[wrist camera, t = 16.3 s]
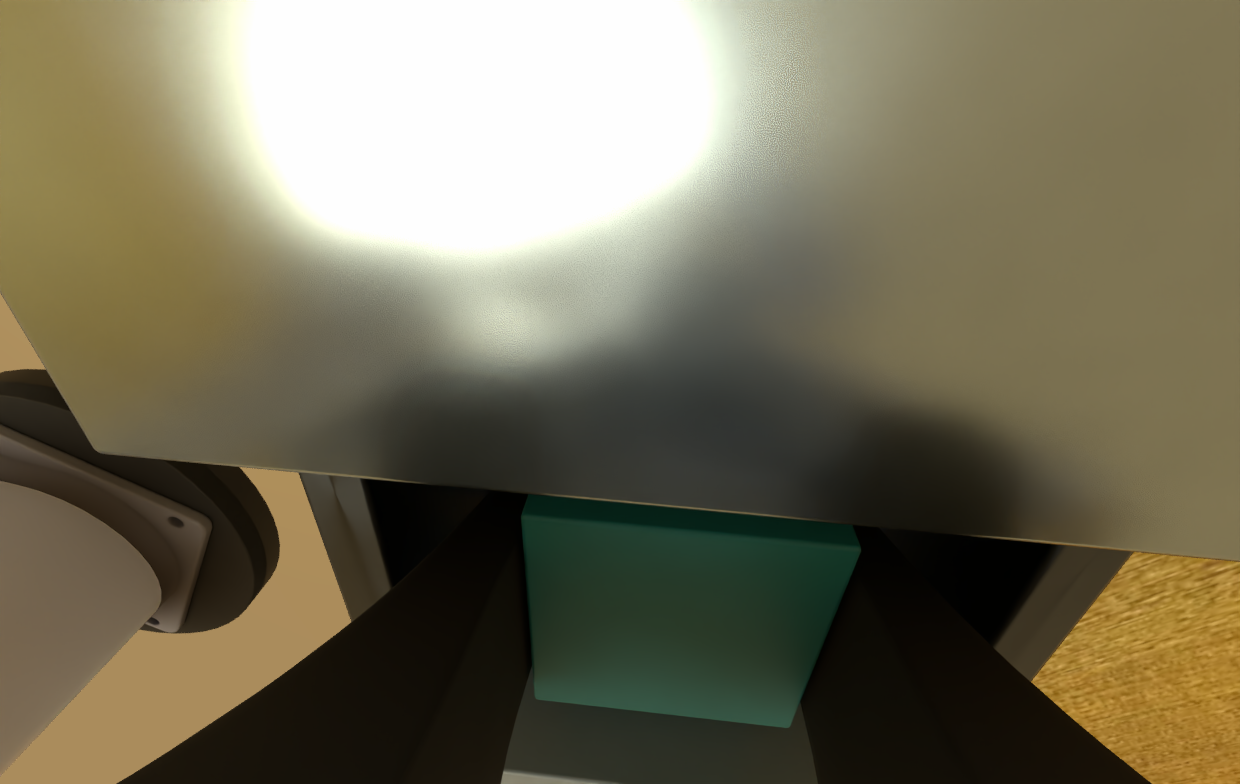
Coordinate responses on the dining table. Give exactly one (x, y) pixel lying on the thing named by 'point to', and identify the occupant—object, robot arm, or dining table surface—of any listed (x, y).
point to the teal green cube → (679, 607)
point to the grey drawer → (687, 746)
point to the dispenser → (651, 250)
